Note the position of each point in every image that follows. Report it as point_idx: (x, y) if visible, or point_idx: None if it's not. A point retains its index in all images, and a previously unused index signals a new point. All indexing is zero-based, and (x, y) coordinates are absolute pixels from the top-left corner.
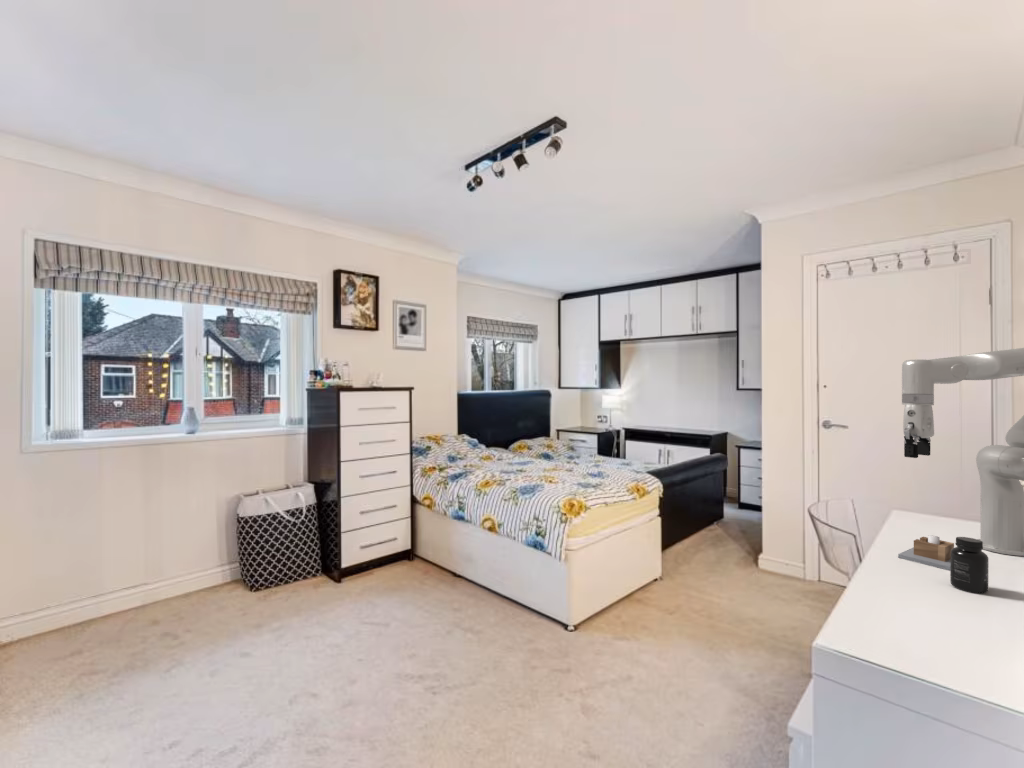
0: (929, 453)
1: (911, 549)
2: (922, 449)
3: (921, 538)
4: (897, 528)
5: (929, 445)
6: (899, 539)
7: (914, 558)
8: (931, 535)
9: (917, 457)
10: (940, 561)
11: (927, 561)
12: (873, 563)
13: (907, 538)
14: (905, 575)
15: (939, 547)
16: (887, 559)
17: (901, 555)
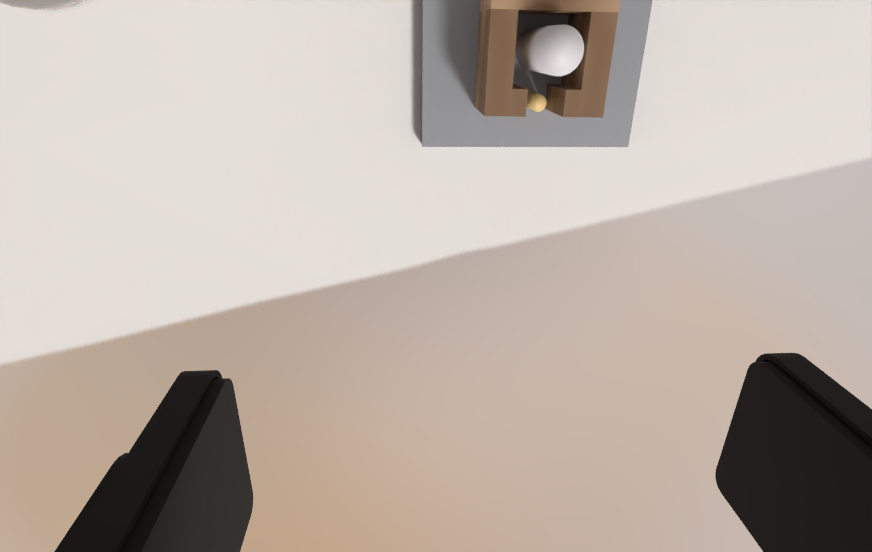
0: (203, 390)
1: (508, 139)
2: (212, 526)
3: (525, 109)
4: (139, 306)
5: (129, 529)
6: (327, 237)
7: (635, 88)
8: (542, 66)
9: (780, 354)
10: None
11: (645, 38)
12: (770, 169)
13: (276, 224)
14: (847, 46)
15: (617, 5)
16: (678, 159)
17: (628, 135)
